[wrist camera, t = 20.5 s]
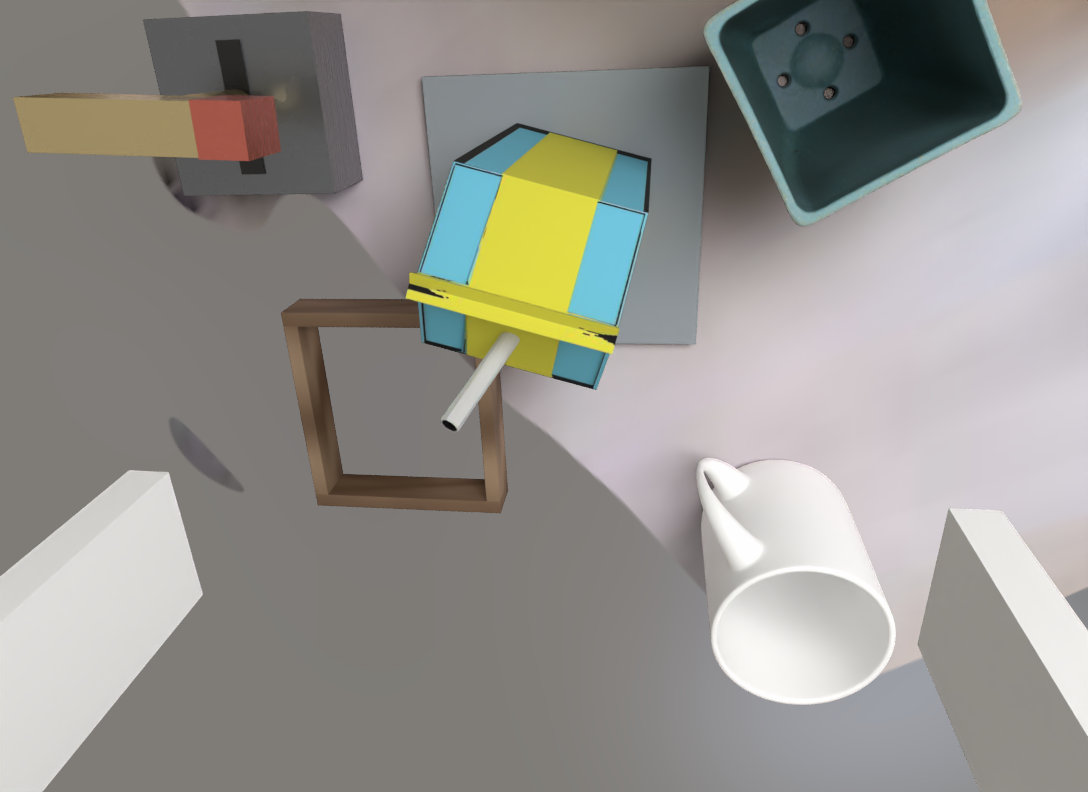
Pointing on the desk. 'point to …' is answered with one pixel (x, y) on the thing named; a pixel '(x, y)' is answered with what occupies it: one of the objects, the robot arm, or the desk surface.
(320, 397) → the frame
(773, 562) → the mug
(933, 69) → the flower pot
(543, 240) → the carton
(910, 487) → the desk surface
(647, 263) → the mat
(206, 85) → the block
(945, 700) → the robot arm
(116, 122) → the key
